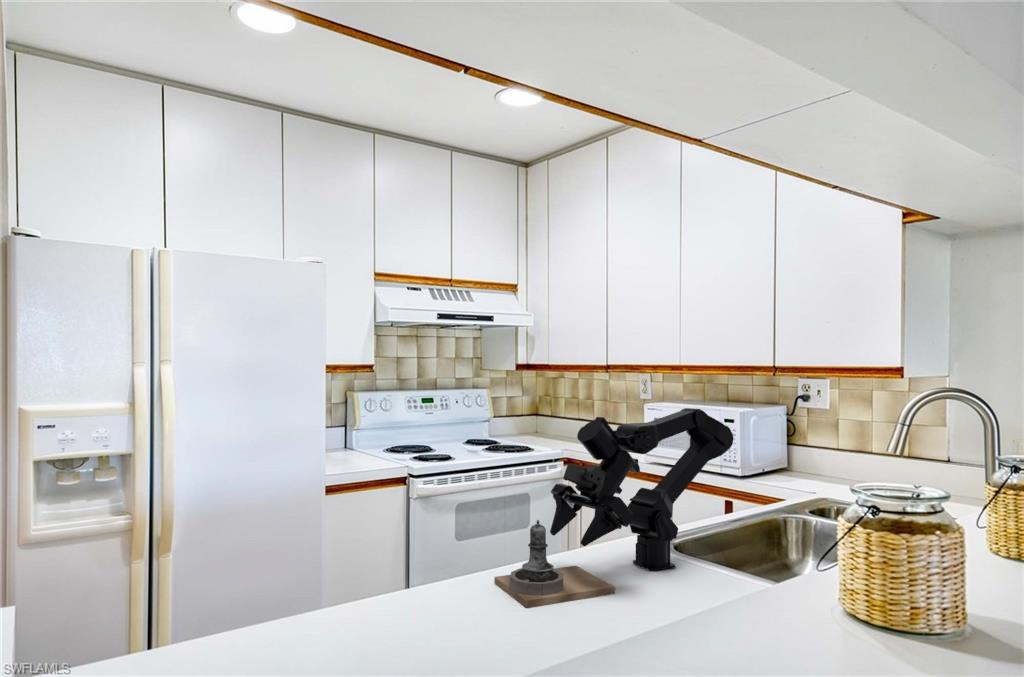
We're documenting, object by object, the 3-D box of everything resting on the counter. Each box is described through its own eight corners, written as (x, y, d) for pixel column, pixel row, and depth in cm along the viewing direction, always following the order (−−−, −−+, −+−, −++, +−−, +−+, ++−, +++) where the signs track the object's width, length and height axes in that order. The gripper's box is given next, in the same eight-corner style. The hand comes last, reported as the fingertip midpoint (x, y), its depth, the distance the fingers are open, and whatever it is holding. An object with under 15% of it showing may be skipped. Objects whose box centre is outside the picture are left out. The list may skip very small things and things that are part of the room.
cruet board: (576, 571, 129) (576, 555, 129) (614, 593, 116) (614, 575, 117) (494, 583, 122) (494, 566, 122) (526, 607, 109) (526, 588, 109)
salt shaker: (520, 581, 119) (520, 516, 120) (551, 580, 120) (552, 516, 120) (523, 591, 114) (523, 523, 114) (555, 591, 114) (555, 523, 115)
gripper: (557, 444, 132) (514, 504, 126) (620, 453, 117) (574, 522, 110) (587, 478, 137) (546, 538, 130) (651, 492, 121) (608, 561, 114)
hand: (566, 539), depth 121 cm, fingers open, 9 cm apart
